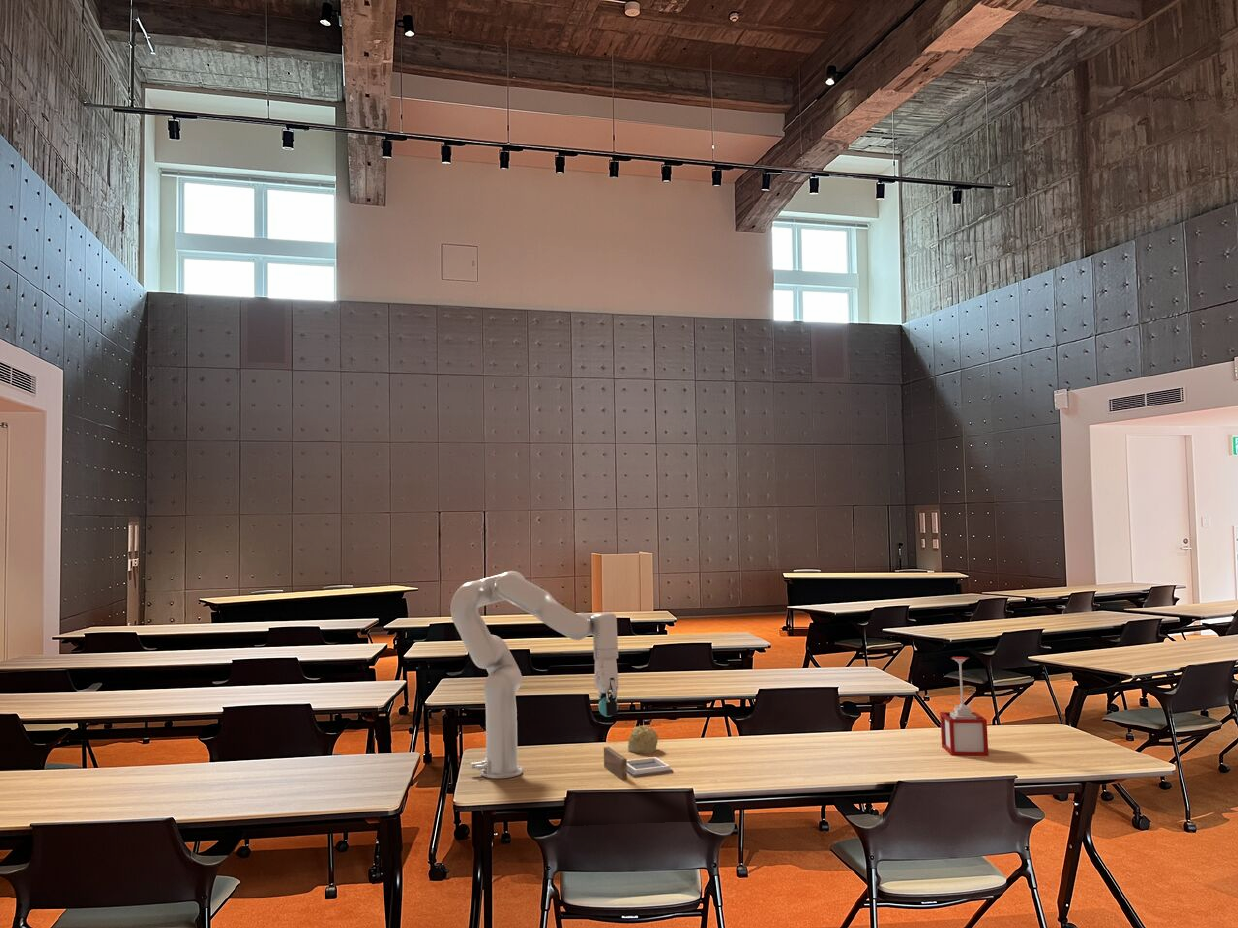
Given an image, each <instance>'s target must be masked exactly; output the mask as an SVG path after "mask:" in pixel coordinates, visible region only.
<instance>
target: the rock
mask: <svg viewBox="0 0 1238 928" xmlns="http://www.w3.org/2000/svg"><path fill="white" fill-rule="evenodd" d="M658 736H659V735H658V734H657V732H656V731H655V729H654V728H652V727H650V726H647V725H638V726H635V727H634V728H633V729H632V730H631V732H630V735H629V736H628V743H627V744H628V745H627V751H629V752H630V753H634V754H643V755H644V754H652V753H654V752H655V751H656V750H657V745H658V739H659V738H658Z"/></svg>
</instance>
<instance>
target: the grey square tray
mask: <svg viewBox="0 0 1238 928" xmlns="http://www.w3.org/2000/svg"><path fill="white" fill-rule="evenodd" d="M670 773H671V774H672V773H674V770H673V769H672V768H671V765H669V764H668V763H666V762H665V761H663V760H661V759H659V758H658V757H656V756H653V757H642V758H634V759H628V760H627V775H628V774H629V775H630V776H631V777H633V778H638V777H640V778H641V777H648V776H655V775H662V774H670Z"/></svg>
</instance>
